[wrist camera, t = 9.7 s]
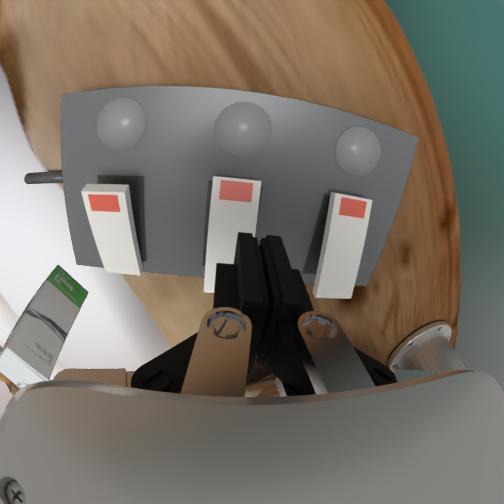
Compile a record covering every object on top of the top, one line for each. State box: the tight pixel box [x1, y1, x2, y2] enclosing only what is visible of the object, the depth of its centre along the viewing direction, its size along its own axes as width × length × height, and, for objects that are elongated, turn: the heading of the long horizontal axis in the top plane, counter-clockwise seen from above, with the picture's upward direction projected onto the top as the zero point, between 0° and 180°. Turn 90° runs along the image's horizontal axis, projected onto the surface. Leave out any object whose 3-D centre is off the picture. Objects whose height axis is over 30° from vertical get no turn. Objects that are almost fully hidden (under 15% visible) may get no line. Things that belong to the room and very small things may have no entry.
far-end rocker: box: [312, 192, 372, 299], centre depth 19 cm, size 8×3×1 cm, turn 171°
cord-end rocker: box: [81, 184, 143, 275], centre depth 17 cm, size 8×3×1 cm, turn 172°
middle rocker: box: [204, 176, 261, 293], centre depth 18 cm, size 8×3×1 cm, turn 171°
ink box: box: [0, 265, 88, 389], centre depth 20 cm, size 9×5×12 cm, turn 124°
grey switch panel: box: [24, 86, 419, 286], centre depth 19 cm, size 14×32×3 cm, turn 81°
